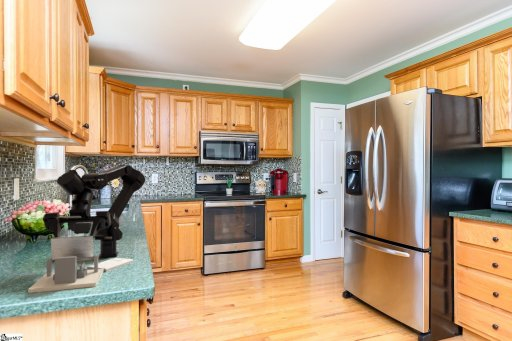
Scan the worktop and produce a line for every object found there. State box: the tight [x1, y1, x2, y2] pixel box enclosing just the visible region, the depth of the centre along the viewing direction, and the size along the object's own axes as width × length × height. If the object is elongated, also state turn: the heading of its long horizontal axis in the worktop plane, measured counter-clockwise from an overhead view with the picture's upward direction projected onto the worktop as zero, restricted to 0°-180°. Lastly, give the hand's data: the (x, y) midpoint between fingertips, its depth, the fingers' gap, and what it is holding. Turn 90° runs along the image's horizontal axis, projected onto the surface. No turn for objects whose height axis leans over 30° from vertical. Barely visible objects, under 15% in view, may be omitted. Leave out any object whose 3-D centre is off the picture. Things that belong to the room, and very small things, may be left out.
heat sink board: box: [27, 254, 105, 294], centre depth 92 cm, size 14×16×8 cm
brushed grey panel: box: [50, 235, 95, 264], centre depth 95 cm, size 1×11×8 cm, turn 108°
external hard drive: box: [86, 257, 134, 273], centre depth 108 cm, size 2×8×12 cm
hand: (73, 242), depth 97 cm, fingers open, 9 cm apart
